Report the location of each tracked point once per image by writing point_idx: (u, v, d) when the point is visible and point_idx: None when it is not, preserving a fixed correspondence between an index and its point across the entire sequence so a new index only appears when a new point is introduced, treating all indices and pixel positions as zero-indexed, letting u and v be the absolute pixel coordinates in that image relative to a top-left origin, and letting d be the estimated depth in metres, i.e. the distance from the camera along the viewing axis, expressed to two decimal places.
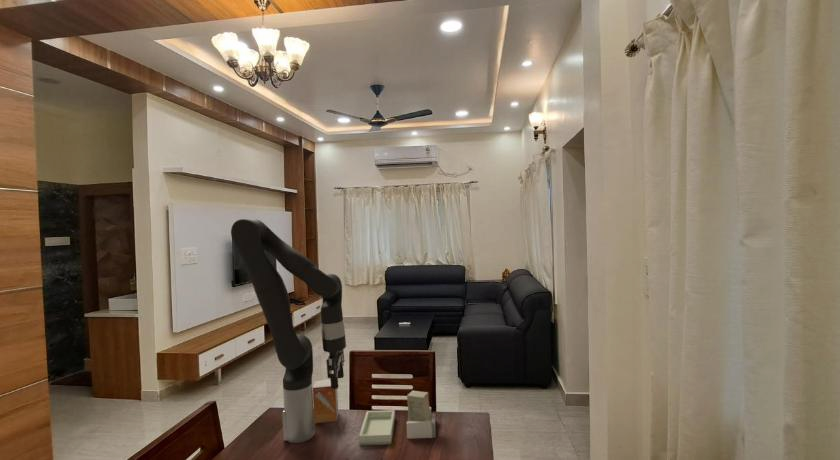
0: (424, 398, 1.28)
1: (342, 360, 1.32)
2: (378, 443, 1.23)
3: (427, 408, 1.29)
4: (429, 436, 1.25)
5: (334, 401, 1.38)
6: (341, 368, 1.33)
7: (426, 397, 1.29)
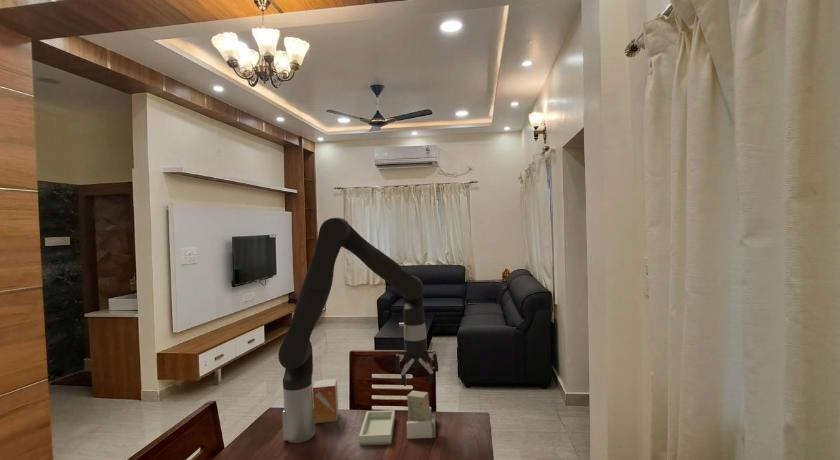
0: (424, 398, 1.28)
1: None
2: (378, 443, 1.23)
3: (427, 408, 1.29)
4: (429, 436, 1.25)
5: (334, 401, 1.38)
6: (405, 374, 1.31)
7: (426, 397, 1.29)
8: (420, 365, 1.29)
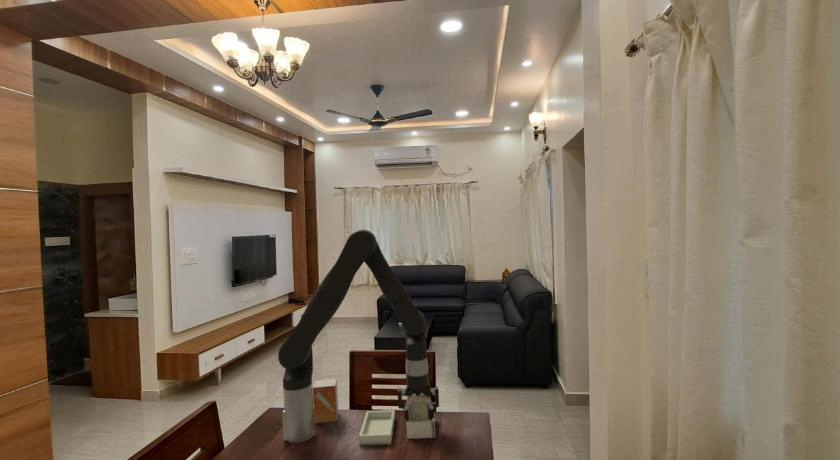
0: (424, 398, 1.28)
1: None
2: (378, 443, 1.23)
3: (427, 408, 1.29)
4: (429, 436, 1.25)
5: (334, 401, 1.38)
6: None
7: None
8: None
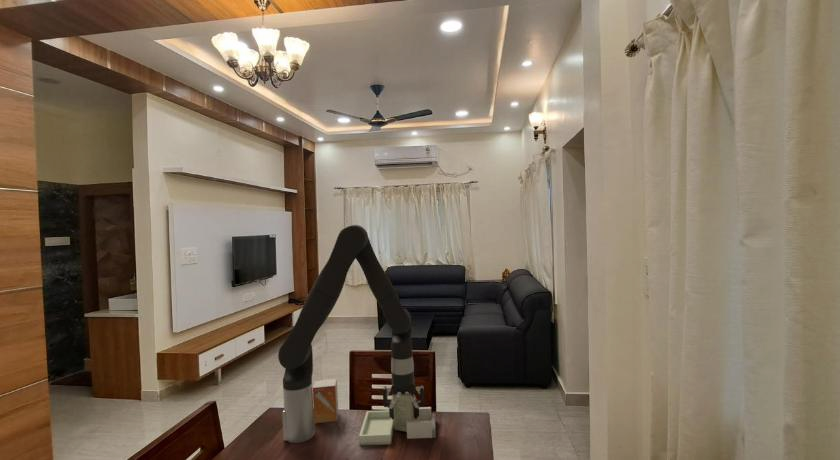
0: (409, 397, 1.28)
1: None
2: (378, 443, 1.23)
3: (412, 407, 1.29)
4: (429, 436, 1.25)
5: (334, 401, 1.38)
6: None
7: None
8: None
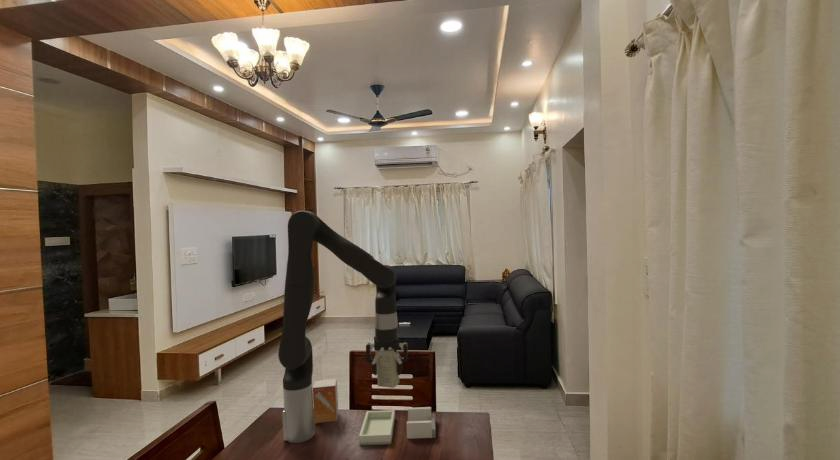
0: (392, 352, 1.28)
1: None
2: (378, 443, 1.23)
3: (395, 363, 1.29)
4: (429, 436, 1.25)
5: (334, 401, 1.38)
6: None
7: None
8: None
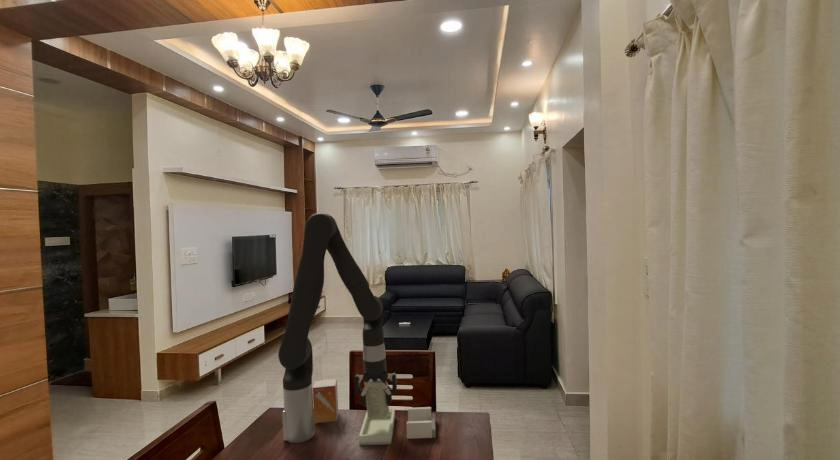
0: (380, 383, 1.28)
1: None
2: (378, 443, 1.23)
3: (384, 394, 1.29)
4: (429, 436, 1.25)
5: (334, 401, 1.38)
6: None
7: None
8: None
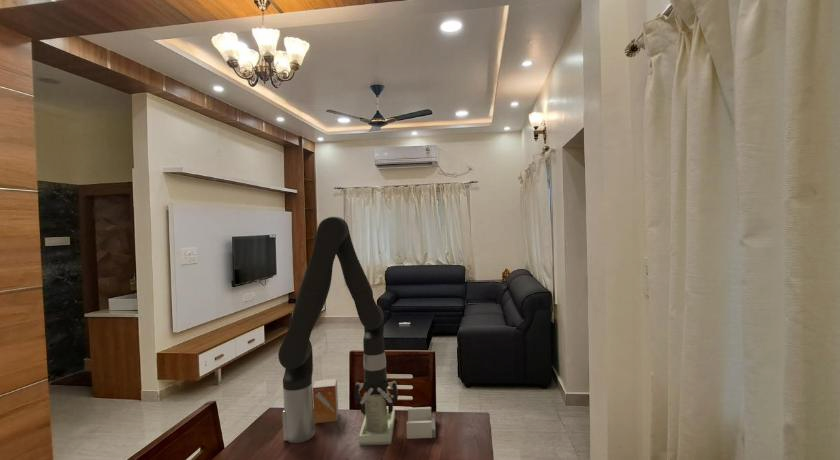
0: (380, 397, 1.28)
1: None
2: (378, 443, 1.23)
3: (383, 407, 1.29)
4: (429, 436, 1.25)
5: (334, 401, 1.38)
6: None
7: None
8: None
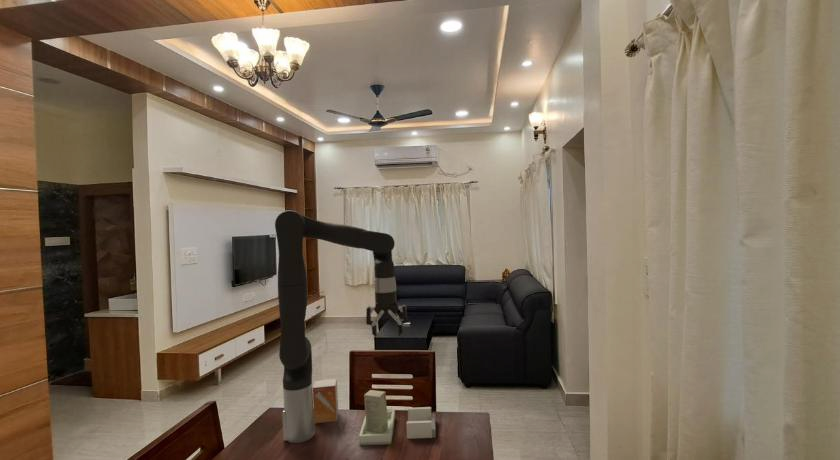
0: (380, 397, 1.28)
1: None
2: (378, 443, 1.23)
3: (383, 407, 1.29)
4: (429, 436, 1.25)
5: (334, 401, 1.38)
6: (376, 326, 1.38)
7: (383, 396, 1.30)
8: (390, 317, 1.36)
